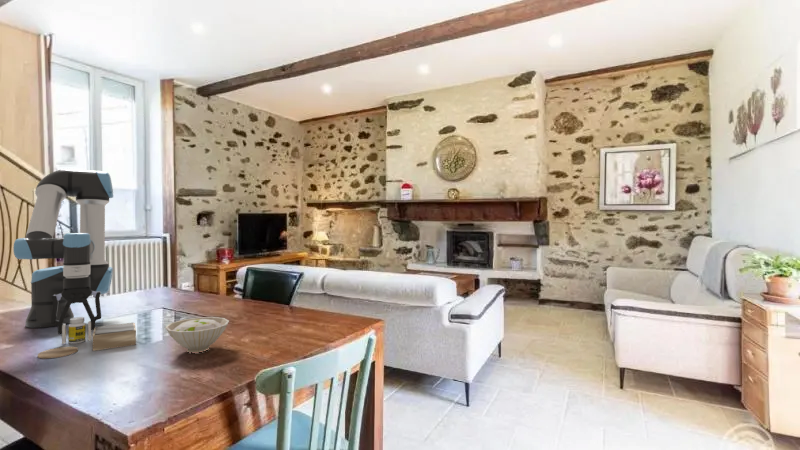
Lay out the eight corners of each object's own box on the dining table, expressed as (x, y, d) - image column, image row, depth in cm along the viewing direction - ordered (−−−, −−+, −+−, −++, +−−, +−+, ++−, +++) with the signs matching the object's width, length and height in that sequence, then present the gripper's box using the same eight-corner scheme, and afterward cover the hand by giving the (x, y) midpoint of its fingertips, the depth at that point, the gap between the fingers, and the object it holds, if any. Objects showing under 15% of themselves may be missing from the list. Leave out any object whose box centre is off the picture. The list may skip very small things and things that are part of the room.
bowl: (163, 363, 122) (163, 331, 122) (166, 345, 139) (166, 317, 139) (231, 354, 131) (231, 324, 131) (227, 338, 148) (227, 311, 148)
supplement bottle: (75, 344, 140) (75, 320, 139) (64, 343, 140) (64, 319, 140) (89, 340, 144) (89, 317, 144) (78, 339, 145) (78, 316, 145)
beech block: (94, 341, 143) (94, 326, 143) (134, 336, 150) (134, 322, 150) (92, 350, 133) (92, 334, 133) (135, 344, 140) (135, 329, 140)
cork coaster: (40, 351, 131) (40, 350, 131) (79, 346, 137) (79, 344, 137) (35, 360, 123) (35, 358, 123) (76, 354, 129) (76, 352, 129)
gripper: (38, 280, 133) (38, 349, 133) (110, 275, 144) (110, 339, 145) (42, 277, 139) (42, 343, 140) (110, 273, 151) (110, 334, 151)
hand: (77, 341), depth 142 cm, fingers open, 6 cm apart
